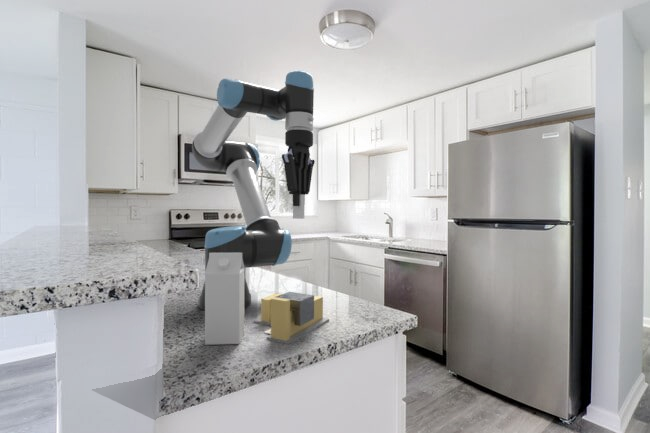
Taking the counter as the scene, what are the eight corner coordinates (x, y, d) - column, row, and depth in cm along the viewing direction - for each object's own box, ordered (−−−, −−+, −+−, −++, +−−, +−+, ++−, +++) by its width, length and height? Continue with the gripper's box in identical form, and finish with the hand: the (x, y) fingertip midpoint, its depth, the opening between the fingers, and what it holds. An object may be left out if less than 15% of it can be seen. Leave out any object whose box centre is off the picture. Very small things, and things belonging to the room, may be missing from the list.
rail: (266, 339, 75) (266, 298, 75) (309, 317, 91) (309, 283, 91) (289, 344, 72) (289, 302, 72) (329, 320, 88) (329, 286, 88)
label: (263, 332, 79) (263, 331, 79) (279, 325, 84) (279, 324, 84) (274, 335, 78) (274, 334, 78) (289, 327, 83) (289, 326, 83)
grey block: (274, 321, 78) (274, 297, 78) (289, 314, 84) (289, 291, 84) (300, 326, 75) (300, 301, 75) (314, 318, 80) (314, 295, 80)
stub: (253, 322, 86) (253, 298, 86) (274, 313, 94) (275, 291, 94) (272, 326, 83) (272, 302, 83) (293, 316, 91) (293, 294, 91)
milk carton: (212, 333, 79) (213, 250, 78) (244, 332, 79) (244, 250, 79) (204, 345, 71) (204, 254, 71) (239, 344, 72) (239, 254, 72)
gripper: (297, 124, 85) (296, 219, 86) (323, 134, 97) (322, 218, 97) (273, 127, 89) (272, 218, 89) (300, 137, 100) (300, 217, 101)
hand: (298, 218), depth 93 cm, fingers closed
